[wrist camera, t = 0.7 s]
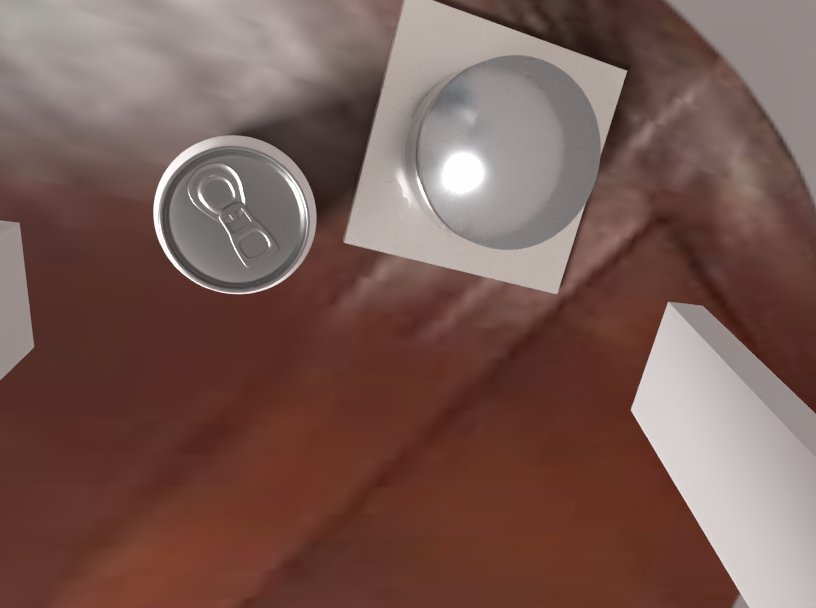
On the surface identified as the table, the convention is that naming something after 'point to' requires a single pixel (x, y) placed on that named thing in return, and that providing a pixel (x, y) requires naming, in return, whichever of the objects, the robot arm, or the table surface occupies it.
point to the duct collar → (481, 148)
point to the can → (235, 214)
